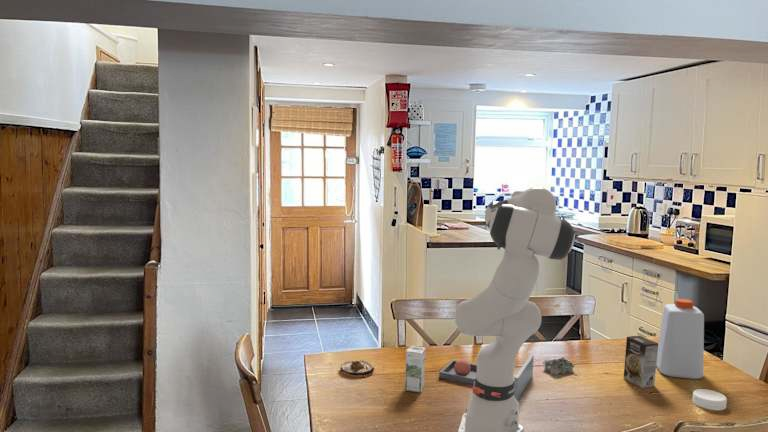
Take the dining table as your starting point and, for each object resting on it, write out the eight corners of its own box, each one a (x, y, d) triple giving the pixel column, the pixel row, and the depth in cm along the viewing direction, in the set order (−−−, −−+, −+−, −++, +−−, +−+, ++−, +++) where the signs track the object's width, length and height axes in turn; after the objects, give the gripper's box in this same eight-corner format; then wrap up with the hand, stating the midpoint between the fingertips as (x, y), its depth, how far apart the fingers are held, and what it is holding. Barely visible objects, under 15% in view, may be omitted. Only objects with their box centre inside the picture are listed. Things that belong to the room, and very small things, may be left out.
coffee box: (622, 378, 213) (625, 336, 211) (636, 376, 215) (639, 334, 213) (641, 388, 204) (645, 344, 202) (655, 386, 206) (659, 342, 204)
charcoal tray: (476, 386, 203) (476, 379, 202) (439, 378, 209) (439, 371, 208) (487, 372, 215) (487, 366, 215) (452, 365, 221) (452, 359, 221)
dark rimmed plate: (381, 378, 208) (382, 367, 208) (341, 382, 204) (341, 370, 204) (372, 363, 223) (372, 353, 222) (333, 366, 219) (334, 356, 218)
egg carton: (553, 376, 214) (553, 366, 213) (540, 369, 221) (541, 358, 220) (576, 372, 218) (576, 362, 217) (563, 365, 225) (563, 355, 224)
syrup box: (424, 386, 201) (425, 346, 199) (420, 393, 195) (422, 352, 194) (408, 384, 203) (409, 344, 201) (404, 391, 197) (405, 350, 195)
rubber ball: (469, 381, 208) (466, 370, 205) (453, 378, 211) (450, 367, 208) (473, 368, 212) (471, 357, 209) (458, 365, 215) (455, 354, 212)
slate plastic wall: (516, 401, 191) (518, 378, 190) (513, 400, 192) (514, 377, 191) (532, 376, 213) (533, 355, 212) (529, 375, 213) (530, 354, 212)
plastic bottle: (661, 376, 215) (667, 304, 212) (652, 362, 230) (658, 294, 226) (705, 381, 212) (712, 307, 208) (694, 366, 226) (700, 297, 223)
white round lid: (697, 395, 200) (697, 385, 199) (729, 404, 193) (730, 394, 192) (688, 404, 192) (689, 394, 192) (721, 414, 186) (722, 403, 185)
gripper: (523, 242, 189) (521, 283, 190) (536, 234, 207) (534, 272, 209) (504, 240, 192) (502, 281, 193) (519, 232, 210) (517, 270, 211)
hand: (519, 276), depth 201 cm, fingers open, 8 cm apart
